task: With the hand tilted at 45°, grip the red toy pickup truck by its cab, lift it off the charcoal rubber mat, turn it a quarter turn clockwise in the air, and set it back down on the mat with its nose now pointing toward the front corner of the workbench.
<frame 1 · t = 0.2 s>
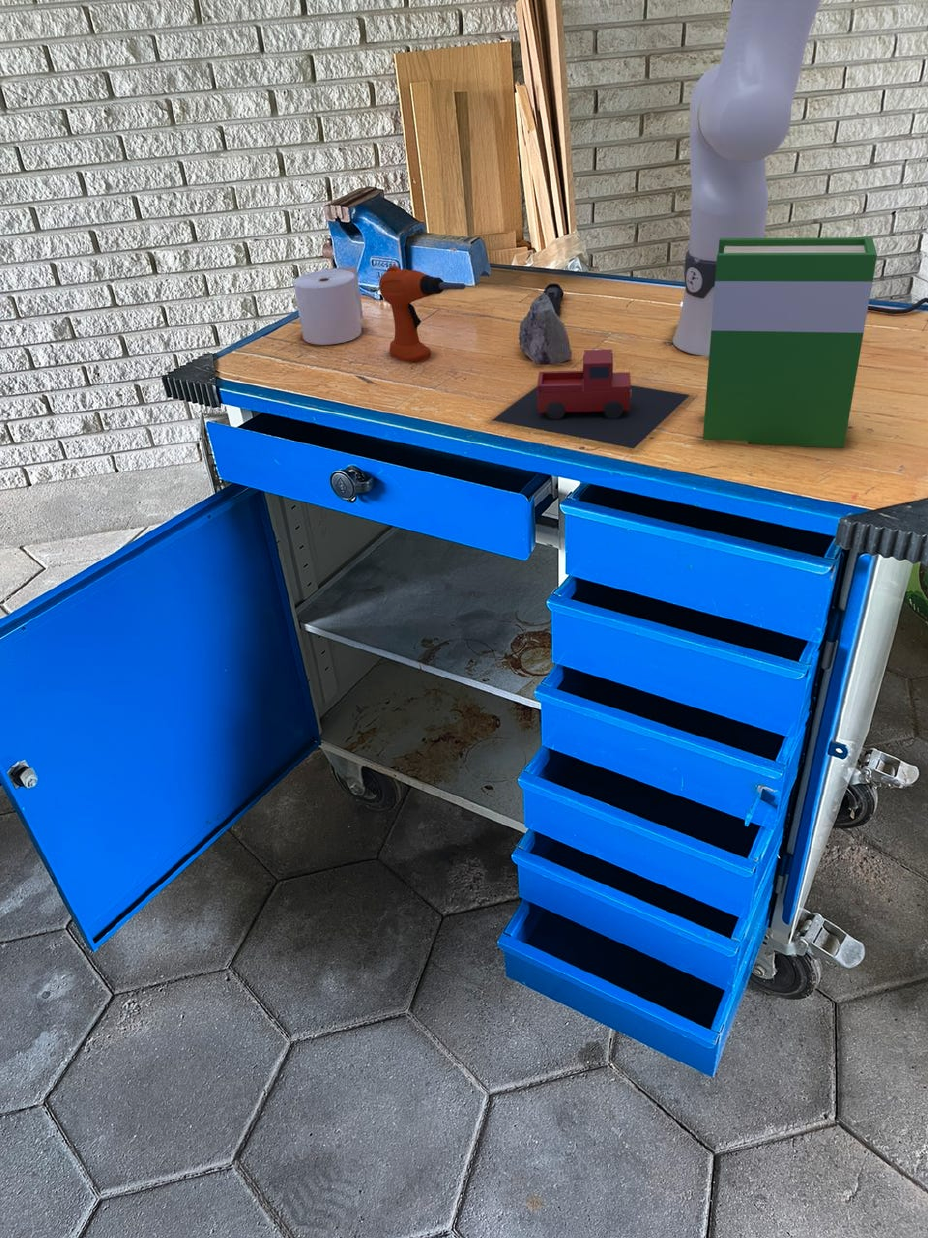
electric trimmer: (552, 311, 175), on the workbench
toilet tissue: (333, 334, 173), on the workbench
toy drill: (429, 361, 159), on the workbench
toy pickup truck: (538, 411, 138), resting on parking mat
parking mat: (591, 409, 138), on the workbench
mineral rock: (546, 353, 158), on the workbench
hardback book: (771, 433, 128), on the workbench
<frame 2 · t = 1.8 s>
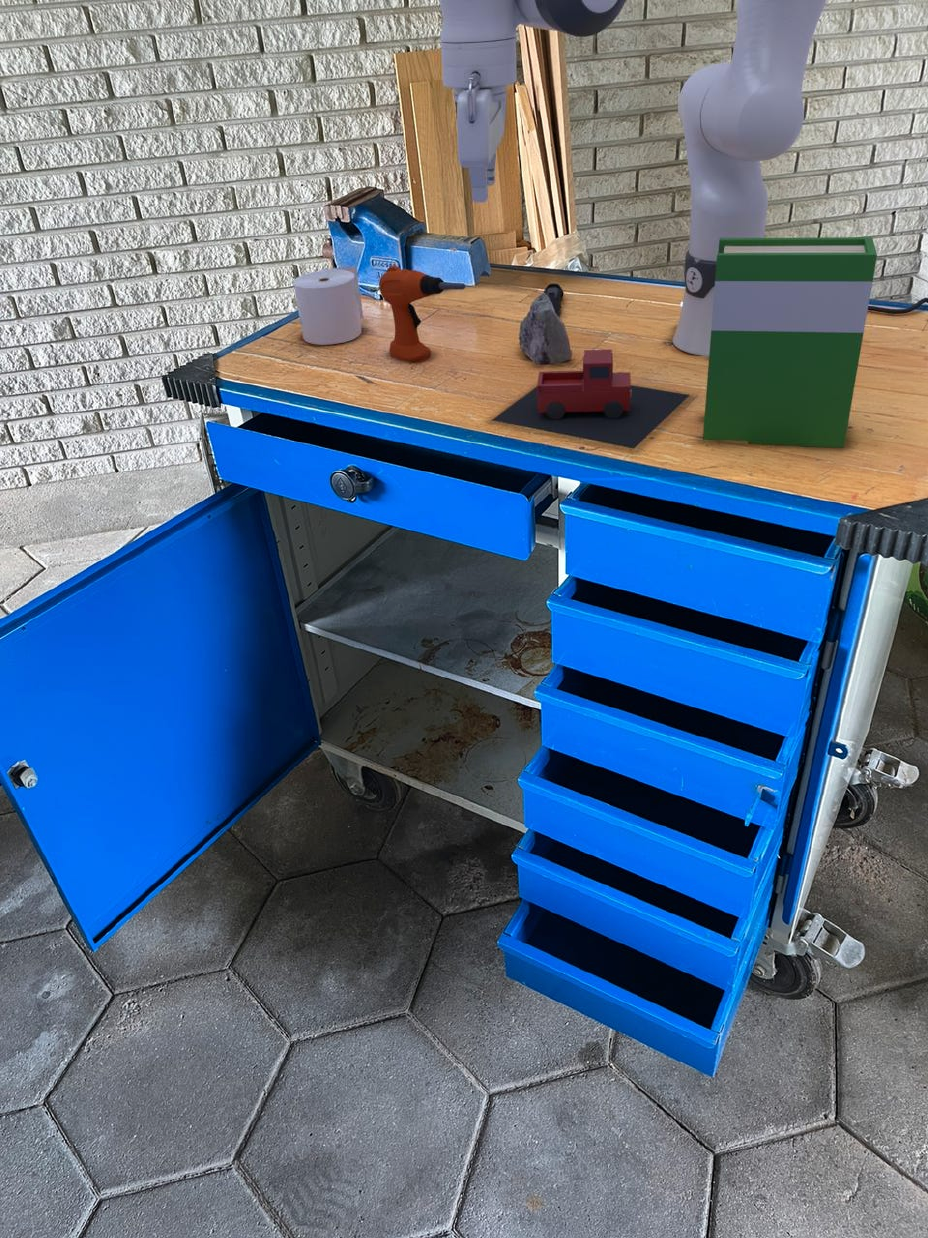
hand: (484, 192, 122), 30 cm above the workbench, tool pointing down, fingers open, 8 cm apart
nothing on the workbench moved.
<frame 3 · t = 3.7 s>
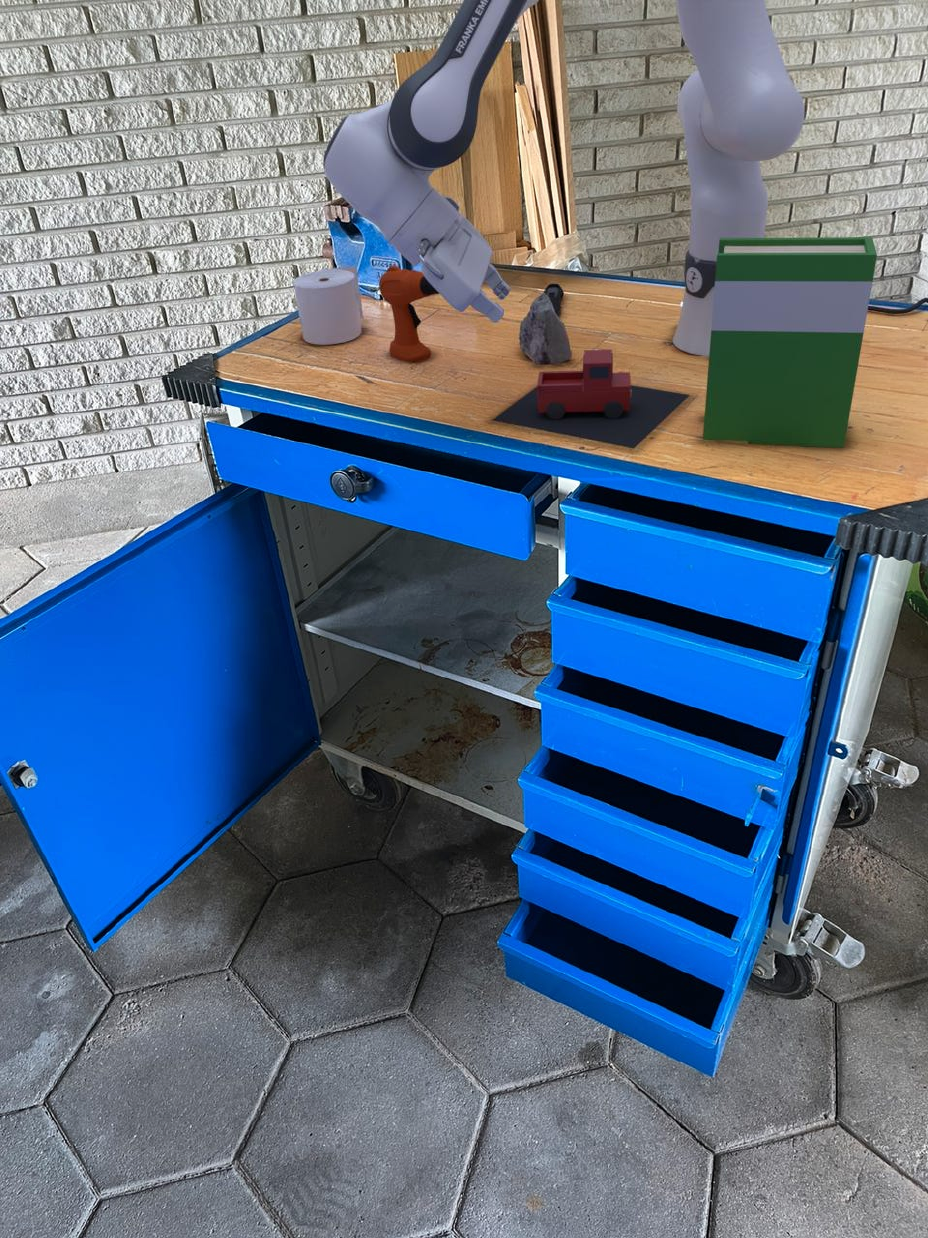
hand: (503, 305, 129), 16 cm above the workbench, tool tilted 45°, fingers open, 8 cm apart
nothing on the workbench moved.
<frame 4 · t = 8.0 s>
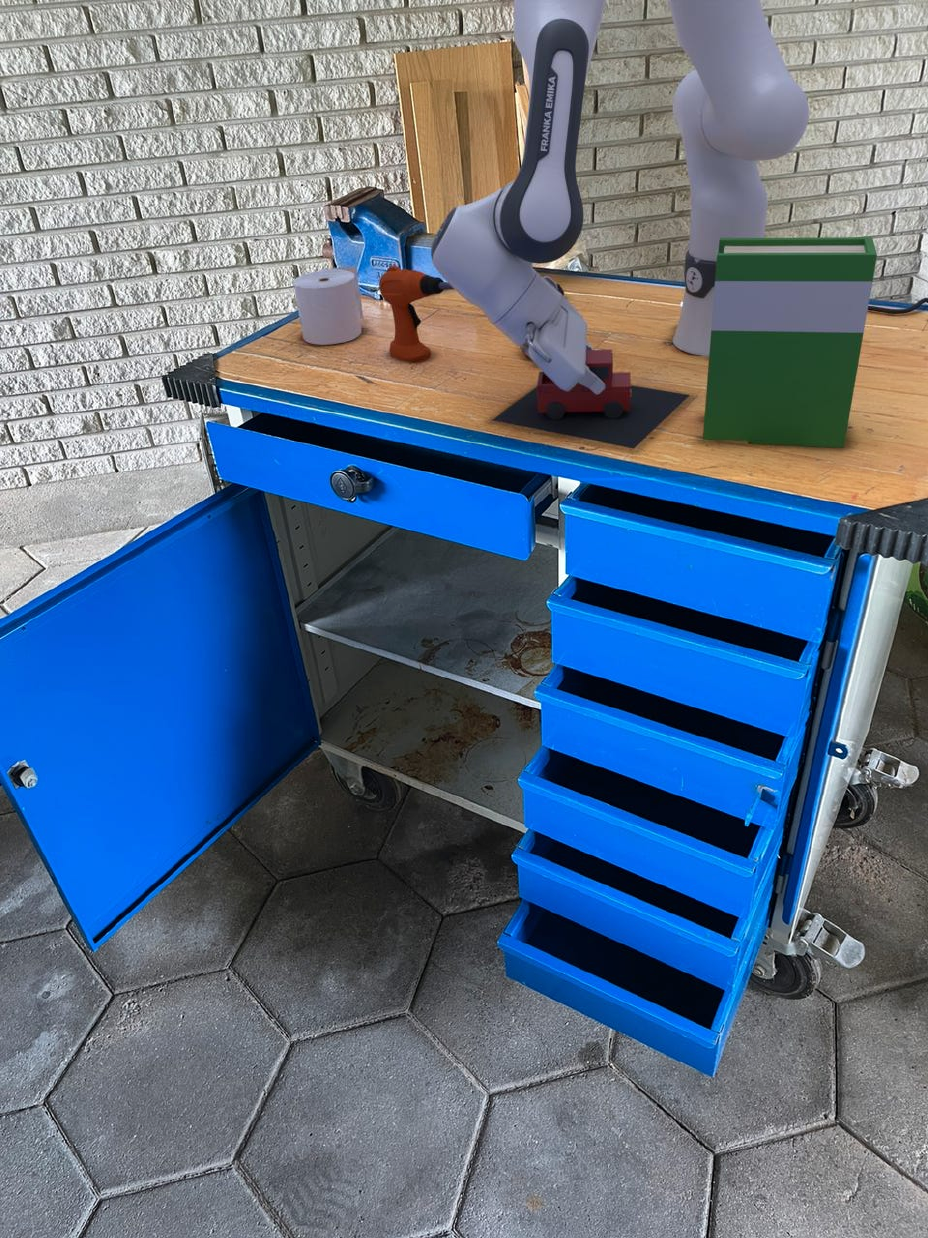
hand: (602, 379, 134), 5 cm above the workbench, tool tilted 45°, fingers closed on toy pickup truck, 5 cm apart
toy pickup truck: (538, 411, 138), resting on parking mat, touching gripper
everything else where it was.
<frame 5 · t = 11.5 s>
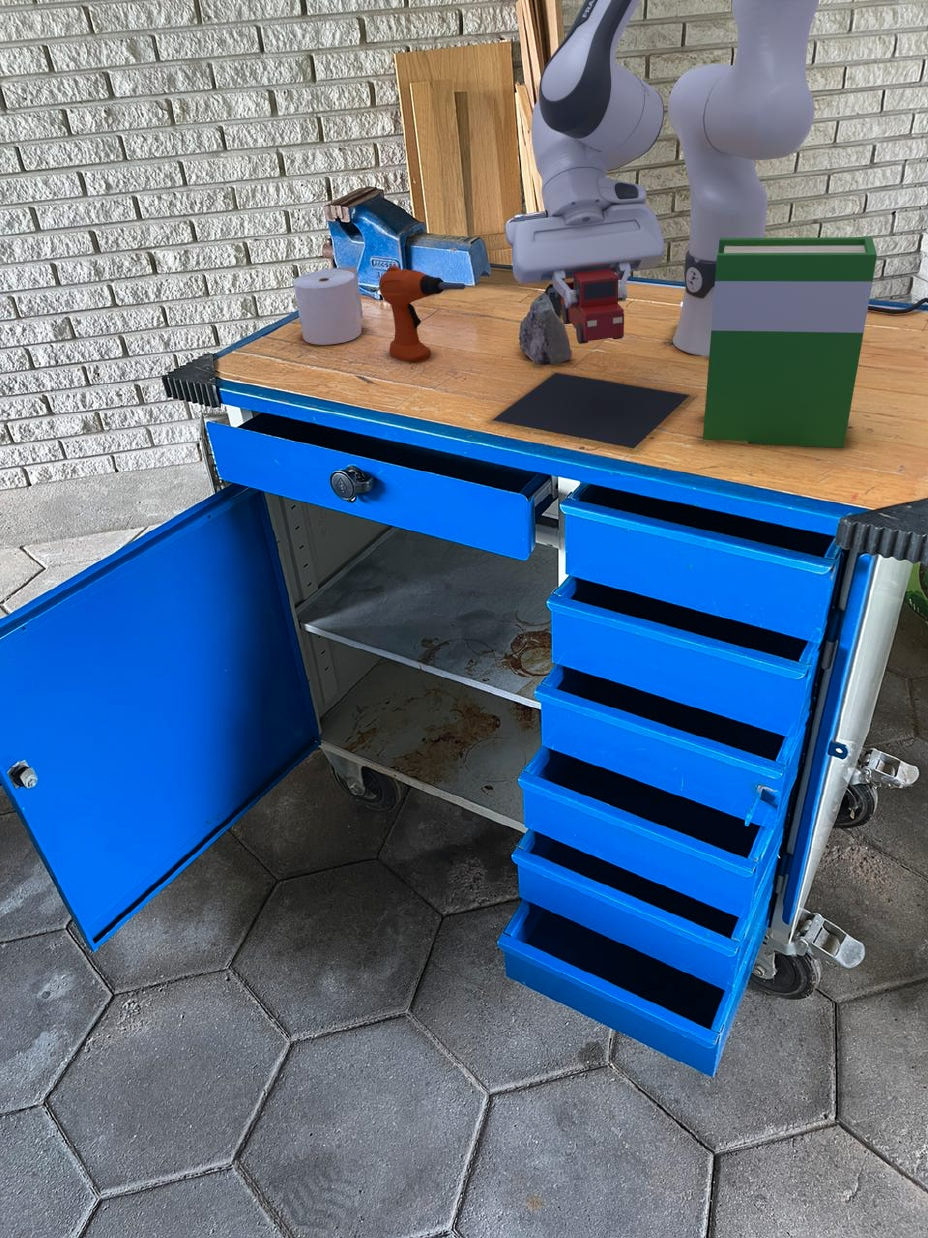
hand: (597, 302, 127), 16 cm above the workbench, tool tilted 45°, fingers closed on toy pickup truck, 5 cm apart
toy pickup truck: (579, 315, 137), point 12 cm above the workbench, touching gripper
everything else where it was.
when the fingers open (5 cm above the workbench, at t = 15.5 s): toy pickup truck stays where it is, resting on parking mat.
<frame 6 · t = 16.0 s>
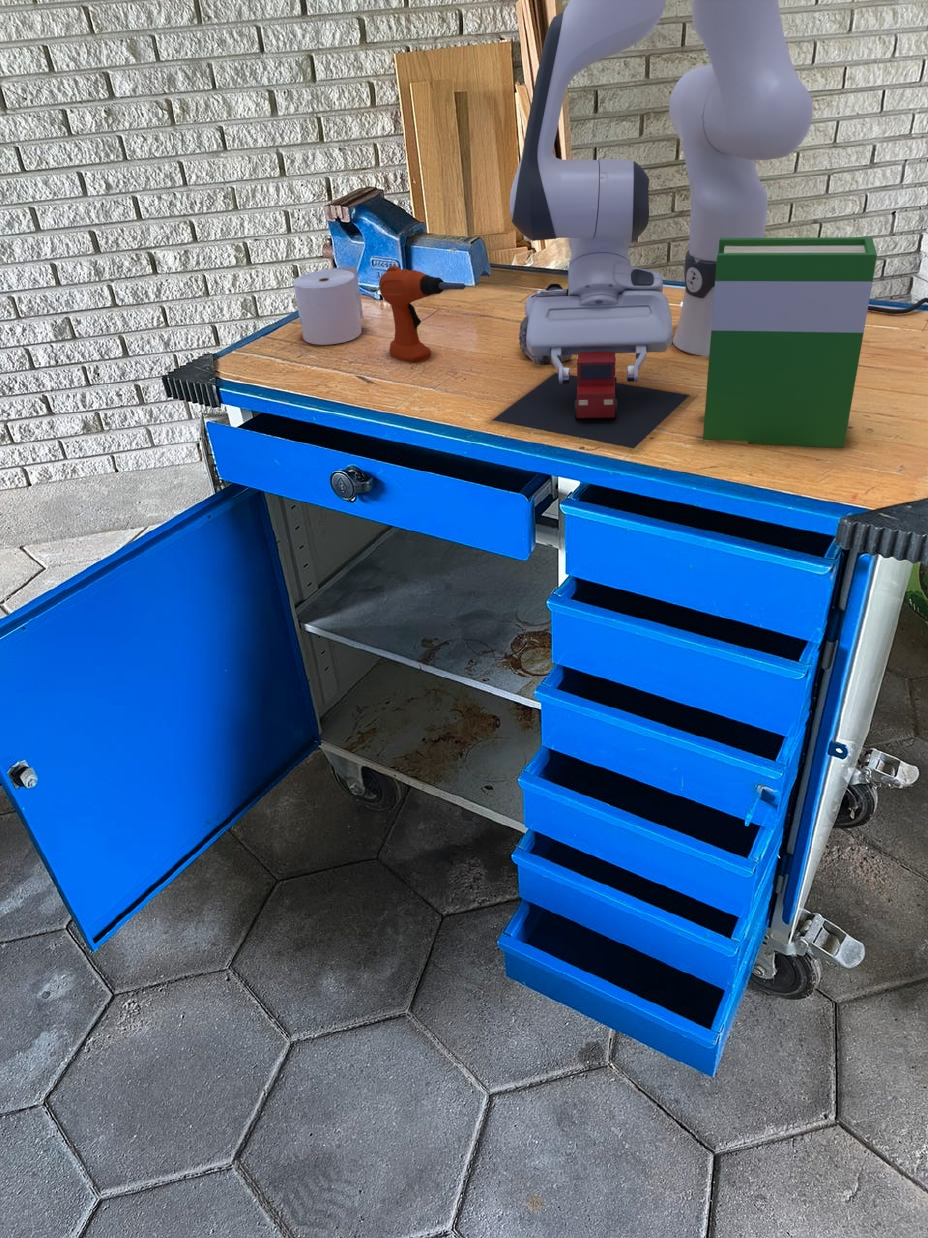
hand: (598, 381, 134), 5 cm above the workbench, tool tilted 45°, fingers open, 8 cm apart
toy pickup truck: (596, 387, 143), resting on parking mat
everything else where it was.
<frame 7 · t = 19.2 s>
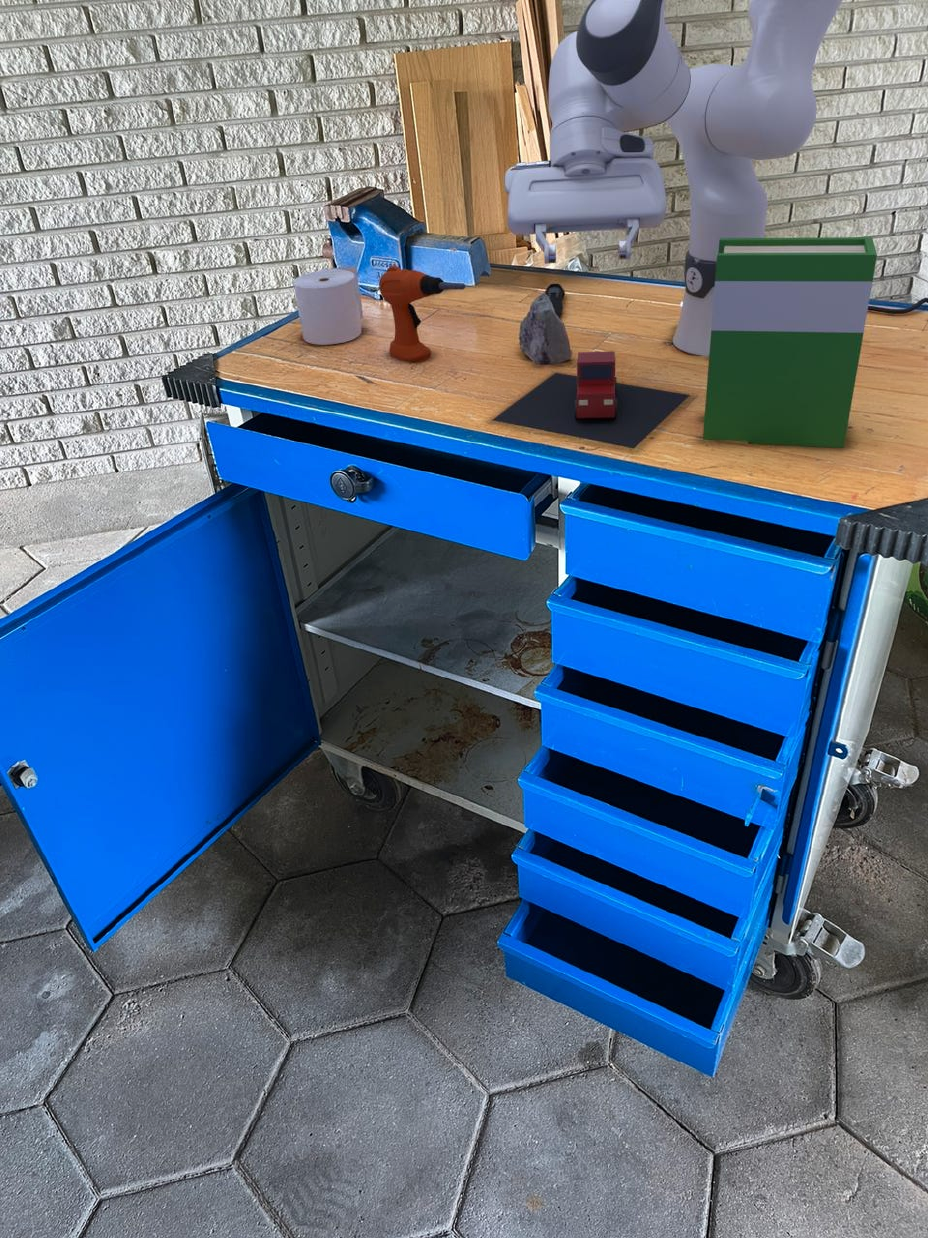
hand: (587, 259, 123), 22 cm above the workbench, tool tilted 45°, fingers open, 8 cm apart
nothing on the workbench moved.
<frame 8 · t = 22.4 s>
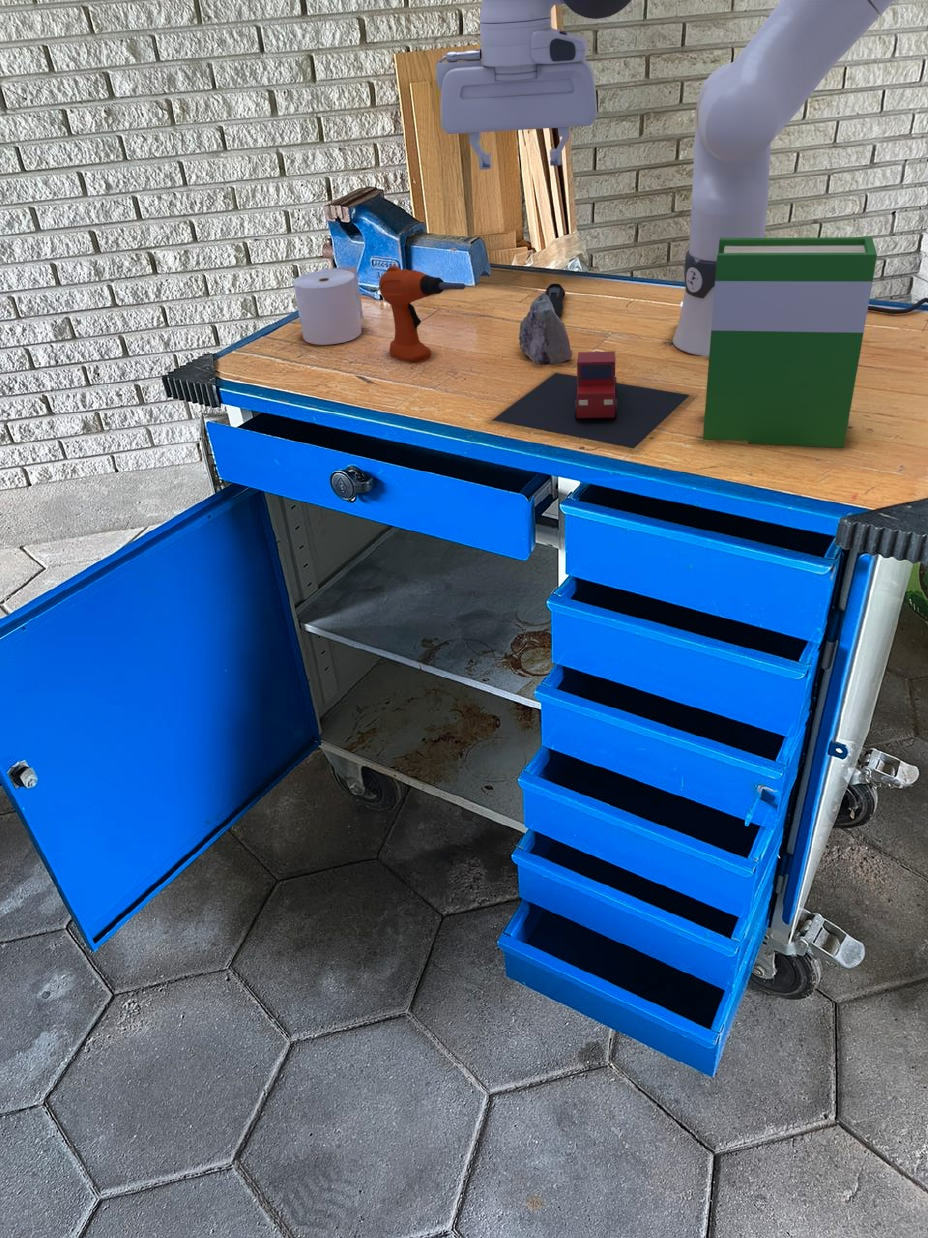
hand: (520, 166, 128), 31 cm above the workbench, tool pointing down, fingers open, 8 cm apart
nothing on the workbench moved.
at the end: toy pickup truck 0.3 cm from the target spot, resting on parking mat; toy pickup truck tilted 0°; the gripper is holding nothing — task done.
